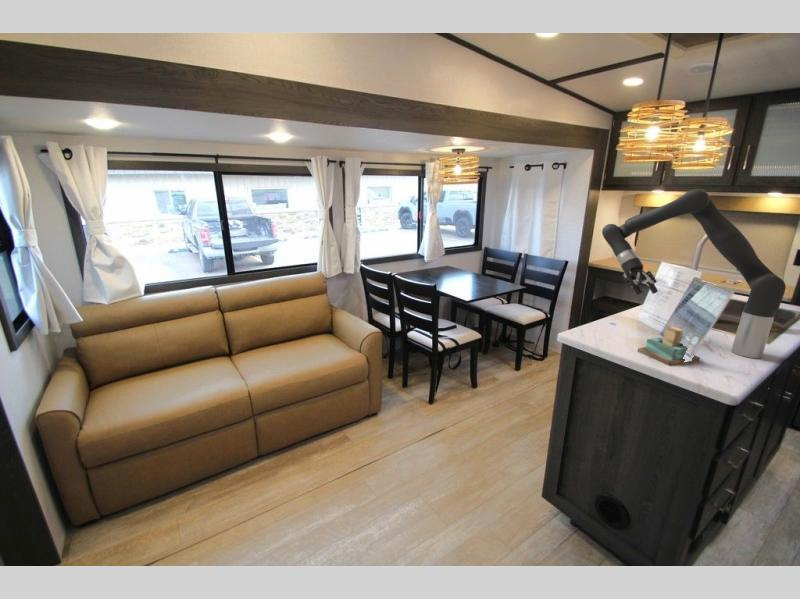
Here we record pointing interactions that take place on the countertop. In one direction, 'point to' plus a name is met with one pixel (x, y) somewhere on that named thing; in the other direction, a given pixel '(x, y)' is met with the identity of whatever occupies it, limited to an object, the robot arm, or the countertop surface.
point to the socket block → (665, 352)
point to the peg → (672, 336)
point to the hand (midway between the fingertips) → (647, 293)
